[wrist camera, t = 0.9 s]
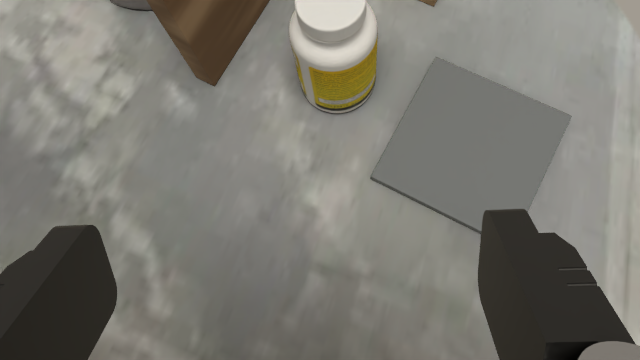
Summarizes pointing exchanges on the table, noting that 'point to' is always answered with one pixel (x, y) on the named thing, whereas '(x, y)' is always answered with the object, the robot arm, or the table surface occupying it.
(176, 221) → the table surface
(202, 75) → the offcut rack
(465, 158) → the charcoal pad
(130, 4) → the pillar candle
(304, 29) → the supplement bottle
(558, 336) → the robot arm
